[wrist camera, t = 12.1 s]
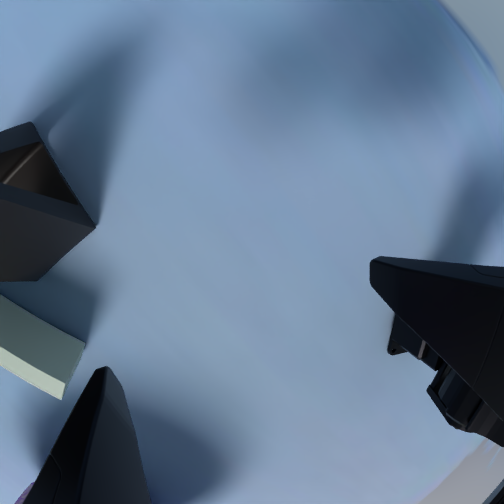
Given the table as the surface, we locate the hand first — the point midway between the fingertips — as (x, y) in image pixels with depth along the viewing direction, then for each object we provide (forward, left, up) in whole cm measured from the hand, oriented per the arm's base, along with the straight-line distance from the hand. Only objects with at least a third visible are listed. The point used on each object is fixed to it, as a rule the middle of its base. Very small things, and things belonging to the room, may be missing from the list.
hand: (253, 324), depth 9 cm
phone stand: (+13, -3, -12) cm, 17 cm away
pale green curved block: (+16, +5, -11) cm, 20 cm away
